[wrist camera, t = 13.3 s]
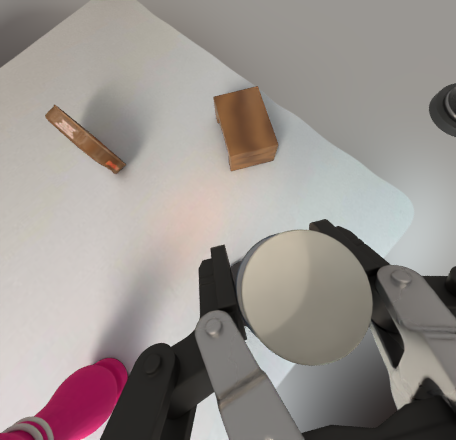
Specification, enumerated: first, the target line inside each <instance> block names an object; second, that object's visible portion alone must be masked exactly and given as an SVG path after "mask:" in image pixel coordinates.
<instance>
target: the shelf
mask: <svg viewBox="0 0 456 440" xmlns="http://www.w3.org/2000/svg"><path fill="white" fill-rule="evenodd" d="M213 98H214V106H215V113H216V119H217V122H218V123H220V126H221V129H222V133H223V136H224V140H225V143H226V147H227V150H228V154H229V165H230V169H231V171H234V170H238V169H242V168H246V167H250V166H254V165H258V164H262V163H266V162H270V161H273V160H274V157H275V154H276V151H277V148H278V142H277V139H276V136H275V133H274V131H273V128H272V125H271V122H270V119H269V116H268V114H267V111H266V108H265V105H264V102H263V100H262V97H261V94H260V91H259V88H258V86H256V87H252V88H248V89H244V90H240V91H236V92H232V93H227V94H223V95H219V96H215V97H213Z"/></svg>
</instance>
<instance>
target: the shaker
mask: <svg viewBox="0 0 456 440" xmlns="http://www.w3.org/2000/svg"><path fill="white" fill-rule="evenodd" d="M235 292H236V298H237V302H238V306H239V310H240V314H241V316H242V318H243V320H244V322H245V323H246V325H247V326H248V328H249V329H250V330H251V332H252V333H253V334H254V335H255V336H256V337H257V338H258V339H259V340H260V341H261V342H262V343H263V344H264V345H265V346H266V347H267V348H268V349H270V350H271V351H272V352H273V353H275V354H276V355H278V356H280V357H282V358H283V359H286V360H288V361H290V362H293V363H297V364H301V365H309V366H315V365H324V364H329V363H332V362H335V361H338V360H340V359H341V358H343V357H345V356H347V355H348V354H349V353H350V352H352V351H353V350H354V349H355V348H356V347H357V346H358V345H359V343H360V342H361V340H362V339H363V338H364V336H365V334H366V332H367V330H368V327H369V324H370V321H371V316H372V306H373V301H372V292H371V287H370V283H369V280H368V277H367V275H366V273H365V271H364V269H363V267H362V266H361V264H360V262H359V261H358V260H357V258H356V257H355V256H354V254H353V253H352V252H351V251H350V250H349V249H348V248H346V247H345V246H344V245H343V244H341V243H340V242H339V241H337V240H335V239H334V238H332V237H330V236H328V235H325V234H323V233H320V232H316V231H311V230H291V231H285V232H282V233H278V234H274V235H271V236H268V237H266V238H264V239H262V240H261V241H259V242H258V243H256V244H255V245H254V246H253V247H252V248H251V249H250V250H249V251H248V252H247V254H246V255H245V257H244V258H243V260H242V262H241V264H240V266H239V269H238V272H237V275H236V285H235Z"/></svg>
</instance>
